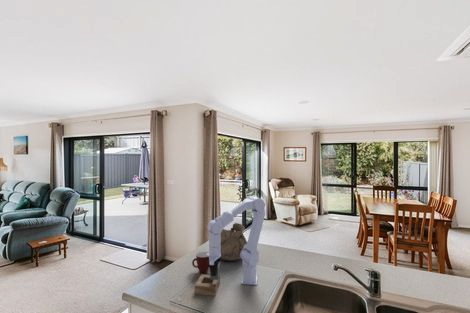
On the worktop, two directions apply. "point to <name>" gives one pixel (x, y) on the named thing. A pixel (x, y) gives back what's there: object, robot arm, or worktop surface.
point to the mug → (201, 262)
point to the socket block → (206, 285)
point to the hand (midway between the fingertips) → (214, 273)
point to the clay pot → (232, 242)
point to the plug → (216, 274)
